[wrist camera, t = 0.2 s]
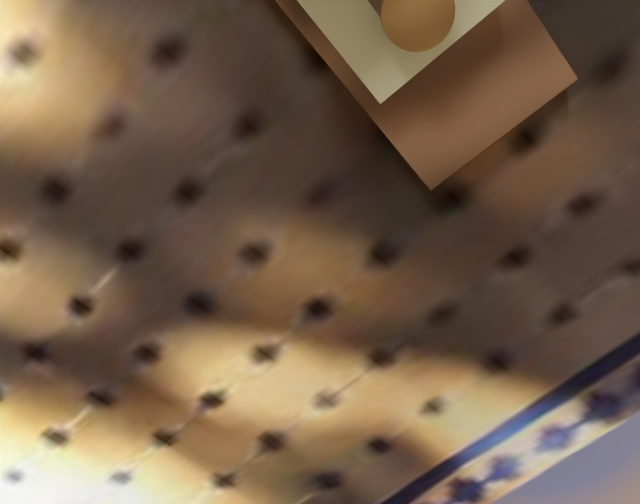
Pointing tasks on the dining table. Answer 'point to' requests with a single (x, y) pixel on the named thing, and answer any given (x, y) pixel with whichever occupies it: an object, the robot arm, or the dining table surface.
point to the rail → (453, 79)
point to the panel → (384, 40)
